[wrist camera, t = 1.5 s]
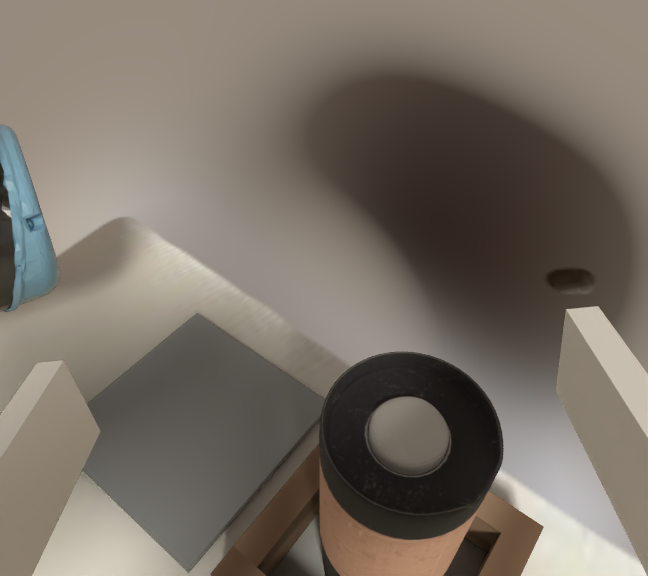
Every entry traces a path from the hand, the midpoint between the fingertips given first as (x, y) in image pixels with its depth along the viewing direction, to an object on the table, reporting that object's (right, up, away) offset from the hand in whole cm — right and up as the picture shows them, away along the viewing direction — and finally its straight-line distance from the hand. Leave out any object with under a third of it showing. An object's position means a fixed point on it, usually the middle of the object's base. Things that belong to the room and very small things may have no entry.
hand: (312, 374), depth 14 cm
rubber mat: (-10, -9, +30) cm, 33 cm away
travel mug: (+4, -17, +22) cm, 28 cm away
